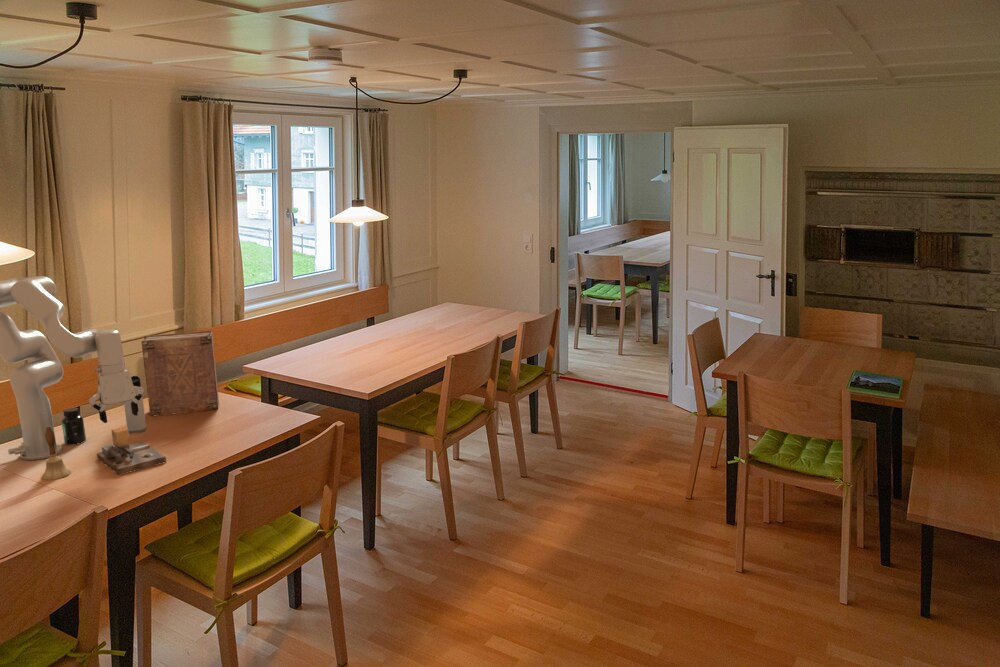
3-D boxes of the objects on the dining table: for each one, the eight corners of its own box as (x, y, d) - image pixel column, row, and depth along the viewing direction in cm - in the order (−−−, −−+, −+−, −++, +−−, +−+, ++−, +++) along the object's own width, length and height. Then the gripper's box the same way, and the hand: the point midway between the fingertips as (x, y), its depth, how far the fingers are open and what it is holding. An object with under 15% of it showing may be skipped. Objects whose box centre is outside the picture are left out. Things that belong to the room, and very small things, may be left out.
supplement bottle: (63, 446, 285) (58, 413, 283) (65, 440, 292) (61, 408, 289) (85, 443, 288) (80, 411, 285) (86, 437, 294) (82, 405, 291)
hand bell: (43, 482, 255) (36, 433, 251) (39, 473, 261) (32, 426, 258) (73, 475, 260) (66, 427, 256) (68, 467, 266) (61, 421, 263)
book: (149, 416, 316) (140, 341, 310) (152, 409, 325) (143, 335, 318) (218, 409, 323) (211, 335, 317) (219, 402, 332) (212, 330, 325)
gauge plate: (118, 475, 259) (116, 459, 258) (97, 458, 273) (95, 444, 272) (166, 462, 269) (164, 447, 268) (143, 447, 283) (141, 432, 282)
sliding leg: (126, 460, 264) (123, 437, 262) (113, 451, 272) (110, 429, 271) (138, 457, 267) (136, 434, 265) (126, 448, 275) (123, 426, 273)
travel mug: (150, 427, 303) (143, 375, 299) (140, 433, 297) (134, 380, 292) (134, 427, 304) (127, 375, 299) (124, 433, 297) (117, 380, 293)
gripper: (87, 375, 257) (96, 427, 261) (143, 364, 268) (150, 414, 272) (80, 372, 262) (88, 422, 266) (135, 361, 274) (142, 409, 278)
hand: (120, 418), depth 269 cm, fingers open, 9 cm apart
